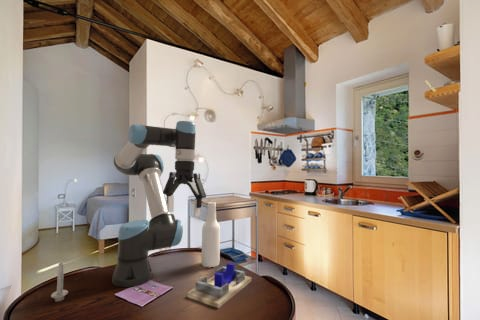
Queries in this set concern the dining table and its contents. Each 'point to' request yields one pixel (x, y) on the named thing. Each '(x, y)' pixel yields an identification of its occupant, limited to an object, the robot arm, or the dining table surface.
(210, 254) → the alcohol
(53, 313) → the dining table surface
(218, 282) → the cable clip
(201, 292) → the board
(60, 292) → the screw
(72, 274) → the dining table surface
